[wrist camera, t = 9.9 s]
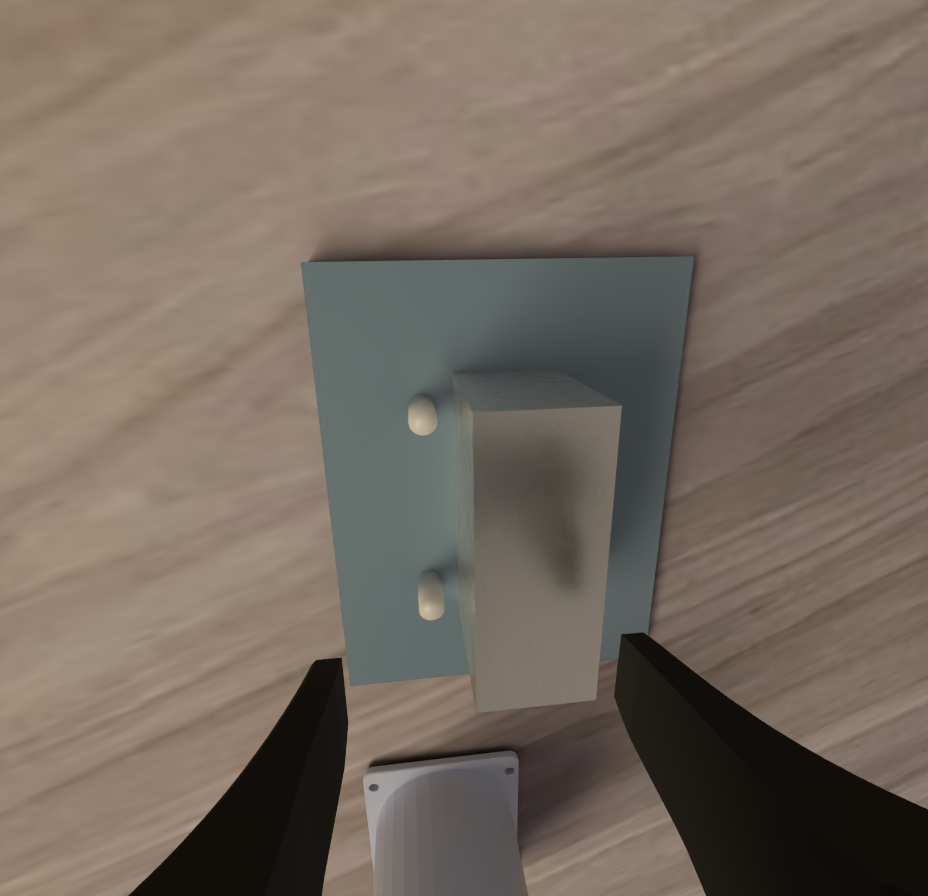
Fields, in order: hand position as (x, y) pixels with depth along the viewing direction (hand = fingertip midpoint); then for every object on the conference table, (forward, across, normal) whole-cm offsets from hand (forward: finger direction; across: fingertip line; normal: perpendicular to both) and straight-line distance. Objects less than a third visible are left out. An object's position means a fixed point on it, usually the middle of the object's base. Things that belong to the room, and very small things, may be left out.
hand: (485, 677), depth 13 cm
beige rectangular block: (+8, -2, -1) cm, 9 cm away
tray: (+9, -2, -1) cm, 10 cm away
